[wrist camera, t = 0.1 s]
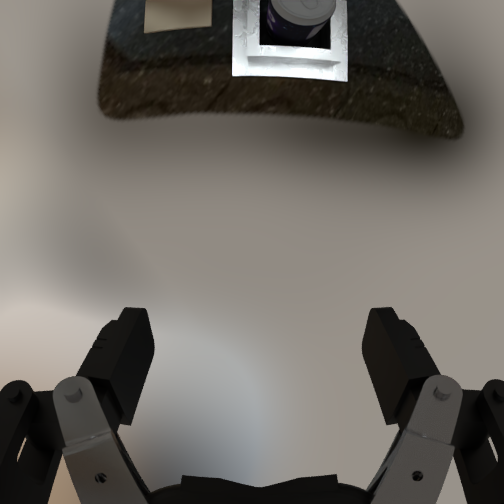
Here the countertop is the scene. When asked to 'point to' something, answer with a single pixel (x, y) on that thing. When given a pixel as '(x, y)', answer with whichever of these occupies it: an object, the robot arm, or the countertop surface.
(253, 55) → the sleeve
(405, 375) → the robot arm
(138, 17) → the countertop surface
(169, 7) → the birch pad
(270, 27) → the beverage can
